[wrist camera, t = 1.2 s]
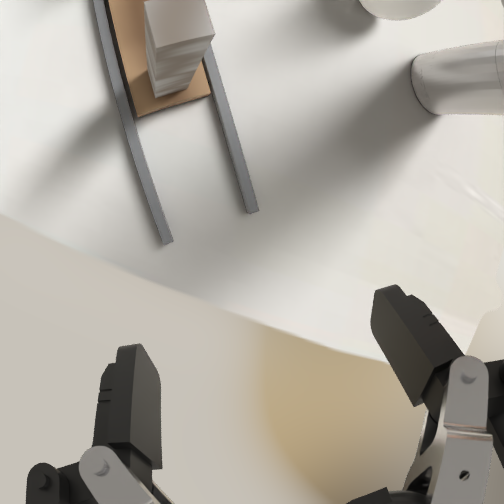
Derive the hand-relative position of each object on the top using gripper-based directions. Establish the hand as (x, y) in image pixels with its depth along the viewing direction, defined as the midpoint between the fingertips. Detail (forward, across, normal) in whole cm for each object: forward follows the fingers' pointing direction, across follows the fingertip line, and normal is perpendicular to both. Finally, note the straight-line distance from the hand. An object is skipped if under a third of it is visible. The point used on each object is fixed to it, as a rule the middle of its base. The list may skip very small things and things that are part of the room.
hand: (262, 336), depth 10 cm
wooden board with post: (+27, +4, -18) cm, 32 cm away
